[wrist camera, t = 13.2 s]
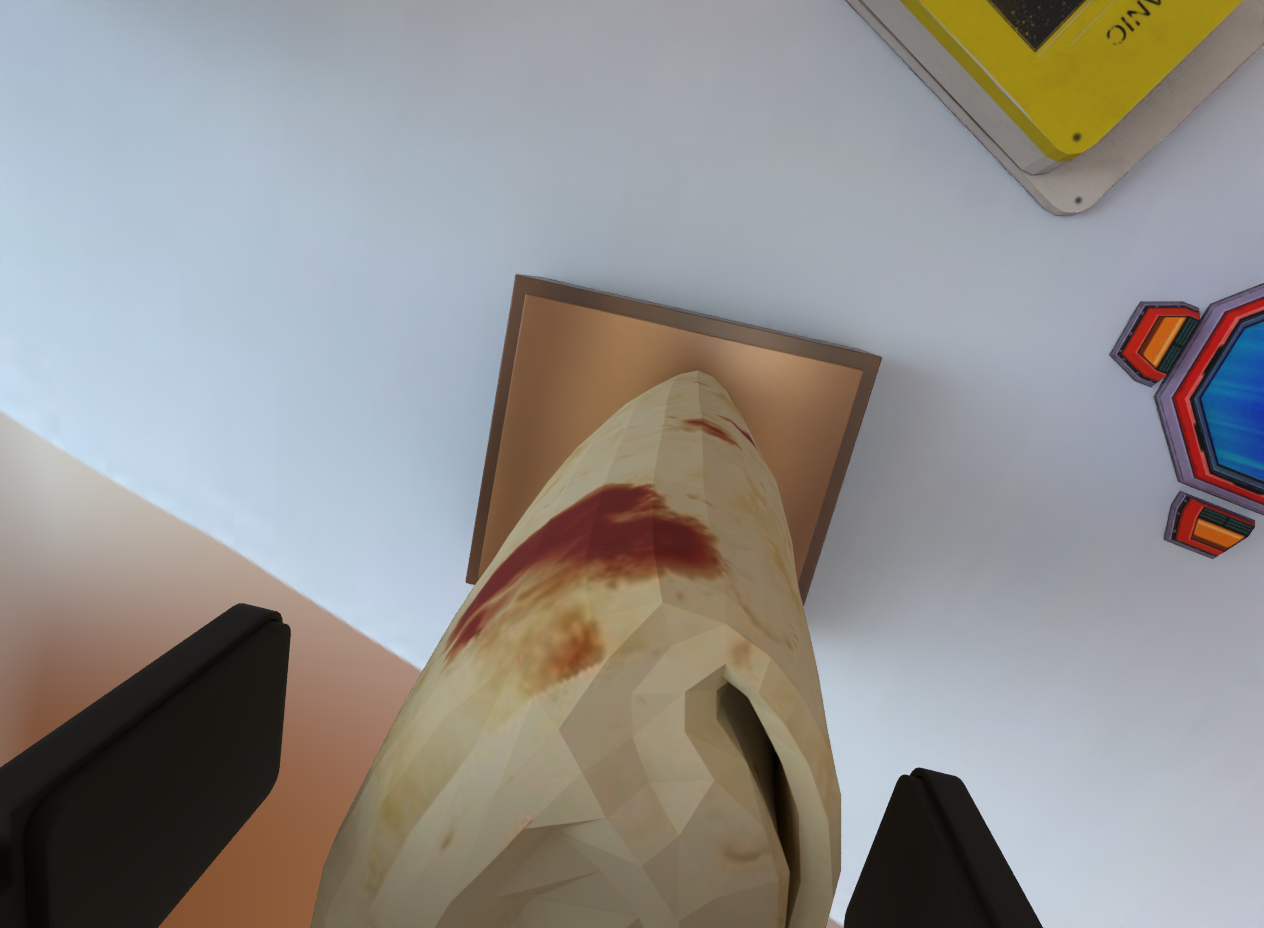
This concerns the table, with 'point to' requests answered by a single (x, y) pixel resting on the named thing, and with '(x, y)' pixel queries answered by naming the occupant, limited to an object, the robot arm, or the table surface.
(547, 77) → the table surface
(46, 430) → the table surface
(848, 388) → the stand
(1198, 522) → the fantasy tower
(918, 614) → the table surface
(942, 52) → the emergency button
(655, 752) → the food model
